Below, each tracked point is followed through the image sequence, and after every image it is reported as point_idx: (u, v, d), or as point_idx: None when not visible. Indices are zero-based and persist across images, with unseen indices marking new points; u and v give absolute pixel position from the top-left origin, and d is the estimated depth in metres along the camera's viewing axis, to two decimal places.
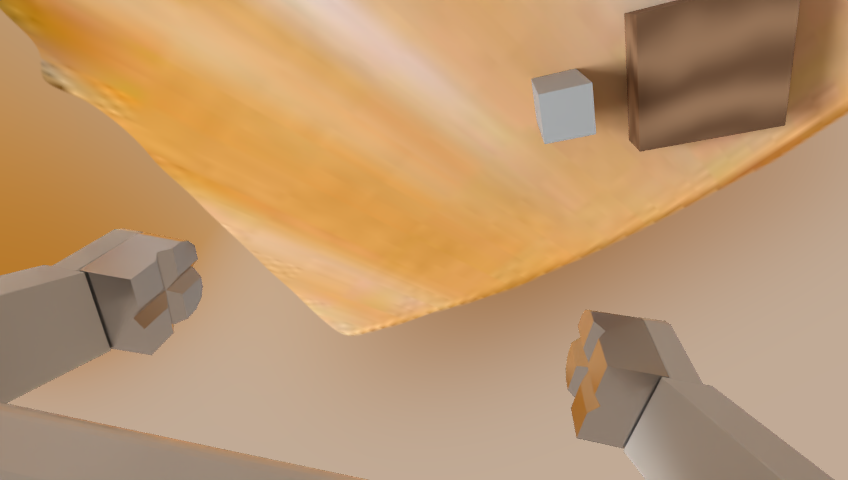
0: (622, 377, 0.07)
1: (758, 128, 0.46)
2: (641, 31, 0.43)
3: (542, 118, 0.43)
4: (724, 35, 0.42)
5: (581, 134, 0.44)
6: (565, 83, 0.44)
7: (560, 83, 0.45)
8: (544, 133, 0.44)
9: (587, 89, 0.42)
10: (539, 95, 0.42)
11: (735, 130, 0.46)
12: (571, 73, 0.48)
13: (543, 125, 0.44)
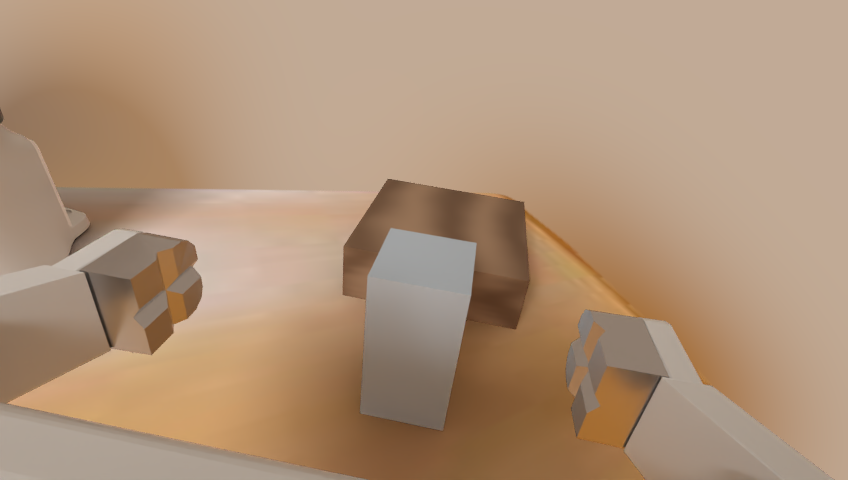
0: (622, 377, 0.07)
1: (522, 212, 0.42)
2: (366, 247, 0.33)
3: (416, 284, 0.21)
4: (413, 210, 0.39)
5: (470, 254, 0.24)
6: None
7: None
8: (448, 289, 0.21)
9: (398, 233, 0.25)
10: (370, 276, 0.21)
11: (520, 222, 0.40)
12: None
13: (431, 286, 0.21)
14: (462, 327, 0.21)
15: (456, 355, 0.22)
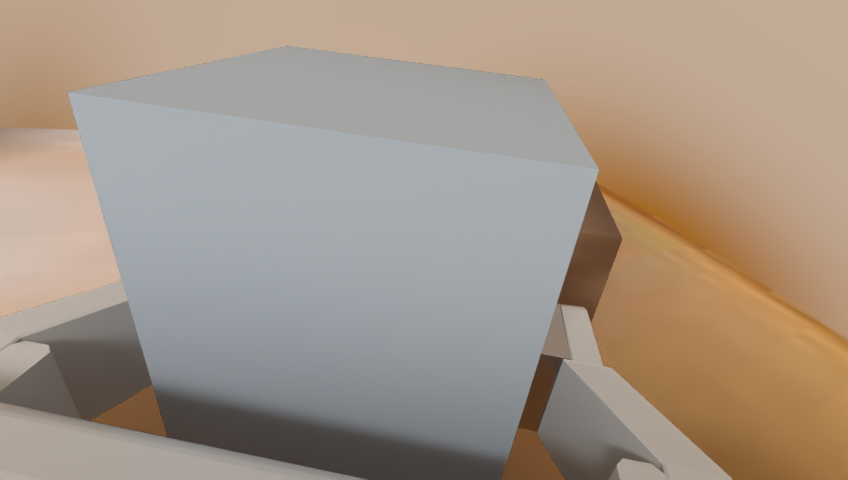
0: None
1: None
2: None
3: (310, 124, 0.04)
4: None
5: (537, 90, 0.07)
6: None
7: None
8: (473, 145, 0.04)
9: (304, 51, 0.08)
10: (87, 94, 0.04)
11: None
12: None
13: (385, 135, 0.04)
14: (535, 342, 0.05)
15: (501, 451, 0.06)
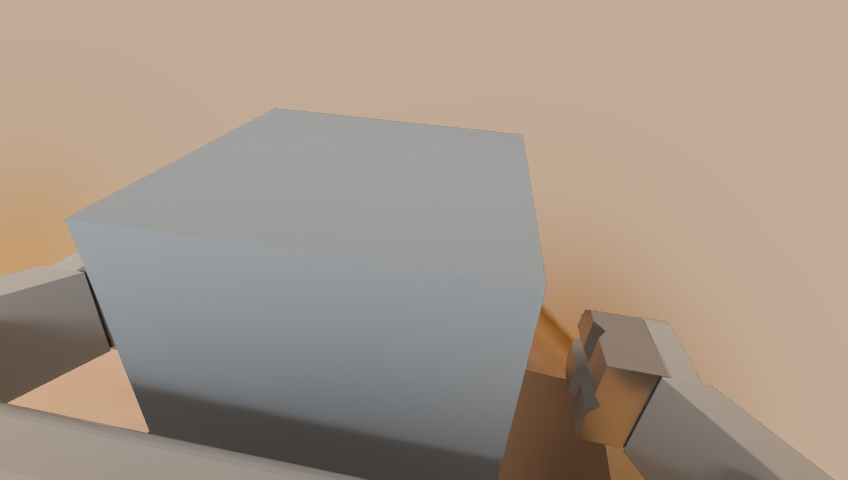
0: (622, 377, 0.07)
1: None
2: None
3: (285, 243, 0.04)
4: None
5: (511, 156, 0.07)
6: None
7: None
8: (433, 262, 0.04)
9: (290, 116, 0.08)
10: (83, 218, 0.05)
11: None
12: None
13: (353, 253, 0.04)
14: (504, 422, 0.05)
15: None
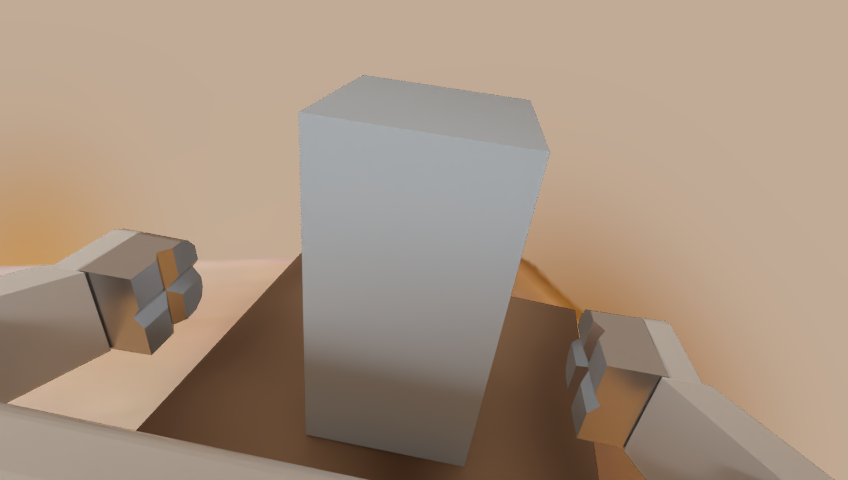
0: (622, 377, 0.07)
1: None
2: None
3: (416, 129, 0.09)
4: None
5: (524, 109, 0.12)
6: None
7: None
8: (493, 140, 0.09)
9: (376, 80, 0.13)
10: (305, 113, 0.09)
11: None
12: None
13: (452, 135, 0.09)
14: (521, 241, 0.09)
15: (502, 310, 0.10)
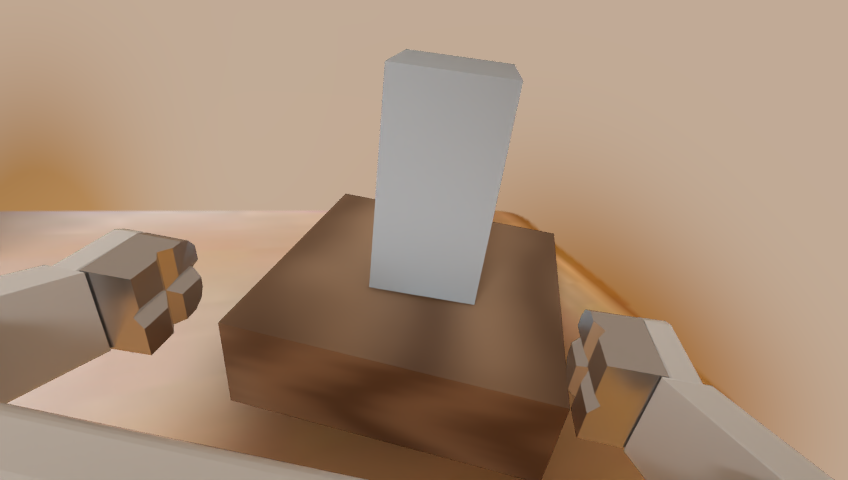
0: (622, 377, 0.07)
1: (552, 251, 0.26)
2: (262, 325, 0.18)
3: (450, 70, 0.16)
4: (370, 247, 0.24)
5: (510, 67, 0.19)
6: None
7: None
8: (492, 75, 0.16)
9: (416, 51, 0.20)
10: (388, 62, 0.16)
11: (549, 270, 0.24)
12: None
13: (469, 73, 0.16)
14: (508, 136, 0.16)
15: (498, 182, 0.17)
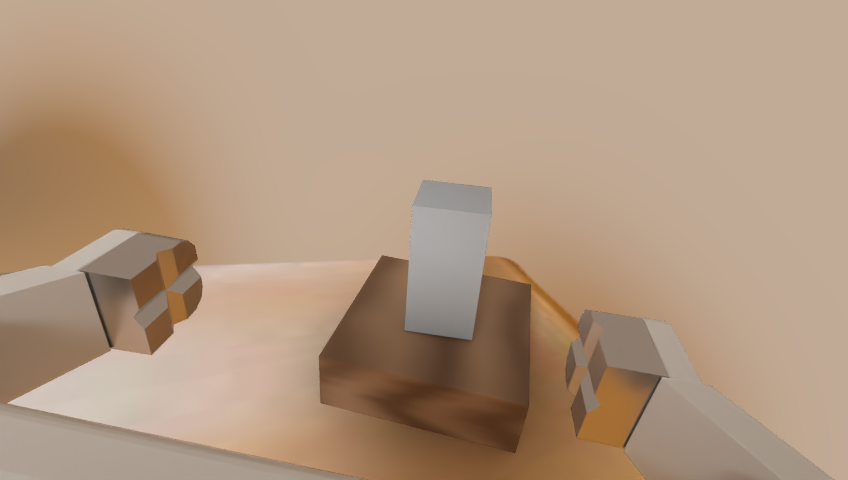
0: (622, 377, 0.07)
1: (528, 299, 0.37)
2: (344, 357, 0.29)
3: (449, 209, 0.27)
4: (404, 300, 0.36)
5: (487, 194, 0.30)
6: None
7: None
8: (474, 212, 0.27)
9: (429, 182, 0.32)
10: (414, 205, 0.28)
11: (525, 314, 0.35)
12: None
13: (461, 210, 0.27)
14: (485, 243, 0.28)
15: (481, 268, 0.29)
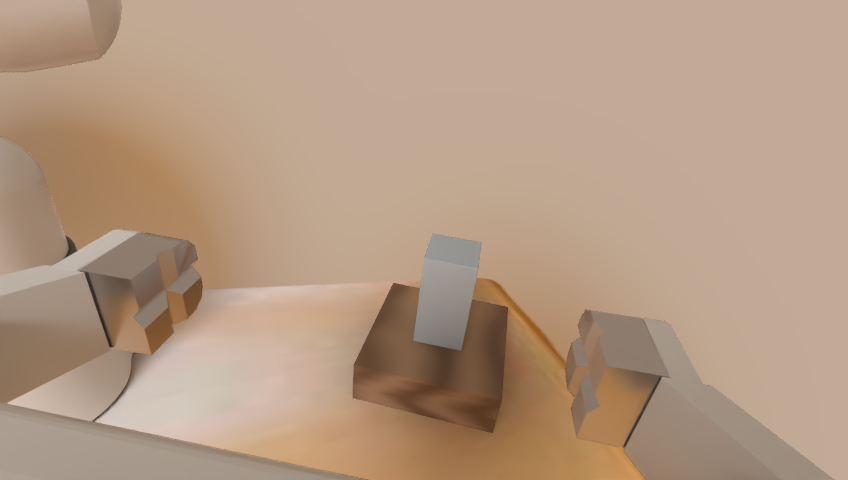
0: (622, 377, 0.07)
1: (505, 319, 0.49)
2: (372, 365, 0.41)
3: (449, 262, 0.40)
4: (412, 321, 0.47)
5: (478, 248, 0.42)
6: None
7: None
8: (466, 265, 0.40)
9: (436, 236, 0.44)
10: (425, 258, 0.40)
11: (502, 331, 0.47)
12: None
13: (457, 263, 0.40)
14: (473, 286, 0.40)
15: (470, 302, 0.41)
